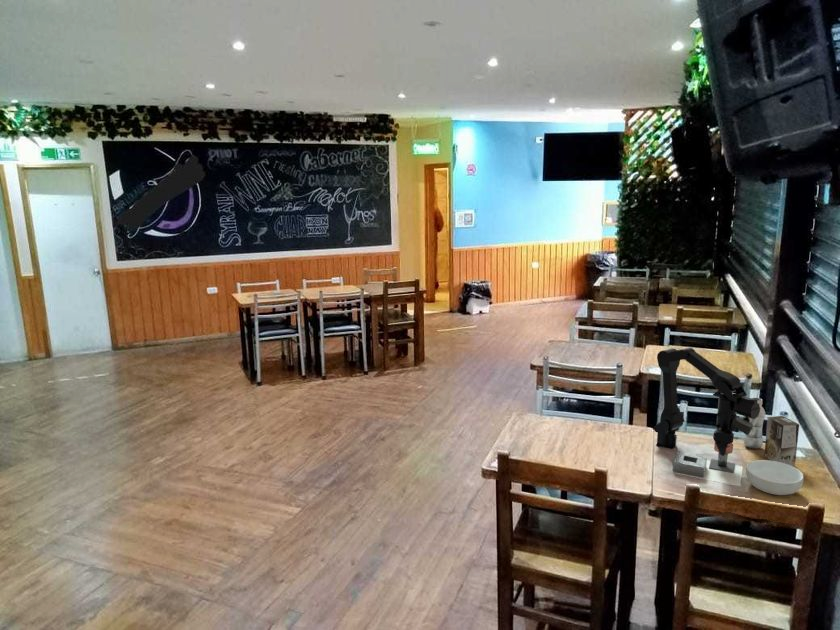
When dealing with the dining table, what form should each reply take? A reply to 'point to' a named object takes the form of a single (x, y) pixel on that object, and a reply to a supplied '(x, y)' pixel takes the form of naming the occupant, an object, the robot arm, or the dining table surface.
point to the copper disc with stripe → (723, 459)
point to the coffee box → (781, 440)
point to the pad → (729, 467)
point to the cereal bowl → (774, 477)
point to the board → (722, 475)
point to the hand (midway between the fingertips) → (723, 450)
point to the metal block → (690, 464)
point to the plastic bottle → (756, 429)
